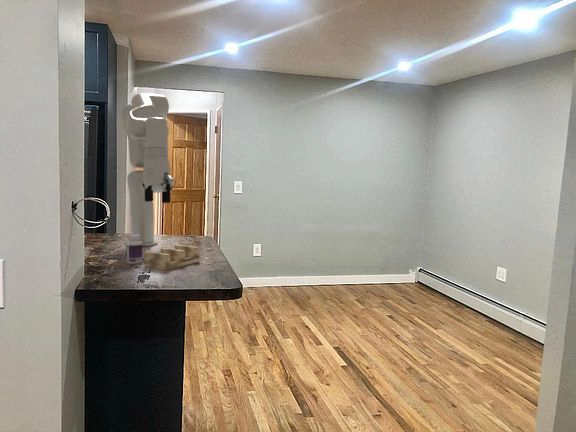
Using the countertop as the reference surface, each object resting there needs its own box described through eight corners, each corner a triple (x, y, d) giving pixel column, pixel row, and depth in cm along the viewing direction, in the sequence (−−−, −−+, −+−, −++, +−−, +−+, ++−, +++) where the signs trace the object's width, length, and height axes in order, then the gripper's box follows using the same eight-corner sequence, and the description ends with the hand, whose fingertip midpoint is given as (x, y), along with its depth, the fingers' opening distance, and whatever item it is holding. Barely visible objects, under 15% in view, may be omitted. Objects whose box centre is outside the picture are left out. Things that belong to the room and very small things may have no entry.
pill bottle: (145, 262, 164) (145, 235, 163) (133, 264, 160) (133, 237, 159) (135, 260, 167) (134, 233, 166) (123, 262, 162) (122, 235, 161)
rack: (144, 266, 157) (144, 251, 156) (177, 258, 172) (177, 244, 171) (168, 270, 153) (167, 254, 152) (199, 261, 167) (199, 247, 167)
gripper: (132, 153, 165) (133, 201, 167) (163, 152, 155) (164, 204, 156) (150, 154, 171) (151, 200, 173) (181, 153, 161) (181, 202, 162)
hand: (157, 202), depth 165 cm, fingers open, 9 cm apart
